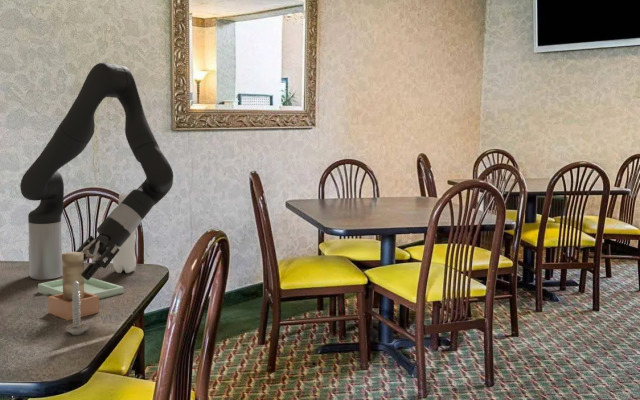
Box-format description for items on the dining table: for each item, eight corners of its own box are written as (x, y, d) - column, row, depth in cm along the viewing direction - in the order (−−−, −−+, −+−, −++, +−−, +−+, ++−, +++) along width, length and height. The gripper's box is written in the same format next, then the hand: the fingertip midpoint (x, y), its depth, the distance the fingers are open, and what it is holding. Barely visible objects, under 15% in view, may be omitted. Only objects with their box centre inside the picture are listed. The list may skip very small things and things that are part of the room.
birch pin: (59, 312, 159) (57, 254, 157) (77, 308, 163) (76, 251, 161) (70, 316, 156) (69, 257, 154) (88, 312, 160) (87, 254, 158)
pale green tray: (38, 292, 179) (38, 283, 179) (82, 283, 190) (82, 274, 190) (78, 306, 167) (78, 297, 167) (123, 295, 178) (123, 286, 178)
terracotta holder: (48, 316, 159) (48, 296, 158) (79, 308, 166) (79, 289, 165) (68, 323, 154) (67, 303, 153) (99, 315, 160) (99, 296, 160)
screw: (86, 339, 143) (63, 340, 142) (89, 332, 148) (67, 333, 147) (85, 283, 141) (62, 283, 140) (88, 277, 146) (66, 278, 145)
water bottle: (129, 275, 201) (128, 196, 198) (108, 273, 203) (107, 195, 199) (140, 269, 208) (139, 194, 205) (120, 268, 210) (119, 193, 206)
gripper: (98, 212, 168) (55, 260, 162) (122, 219, 158) (78, 271, 152) (117, 230, 172) (76, 277, 166) (142, 238, 162) (100, 289, 156)
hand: (77, 274), depth 159 cm, fingers open, 8 cm apart
